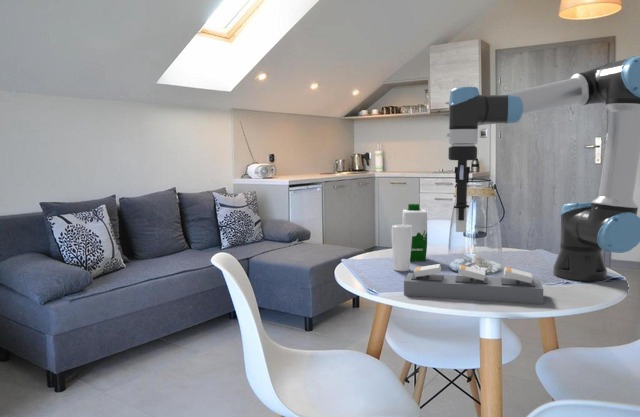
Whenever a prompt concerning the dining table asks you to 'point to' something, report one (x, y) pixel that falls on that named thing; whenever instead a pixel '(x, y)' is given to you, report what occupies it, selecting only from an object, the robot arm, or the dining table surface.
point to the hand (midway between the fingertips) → (461, 231)
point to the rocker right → (518, 275)
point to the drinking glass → (401, 246)
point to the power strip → (474, 288)
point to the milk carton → (417, 231)
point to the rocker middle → (471, 272)
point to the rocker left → (427, 270)
